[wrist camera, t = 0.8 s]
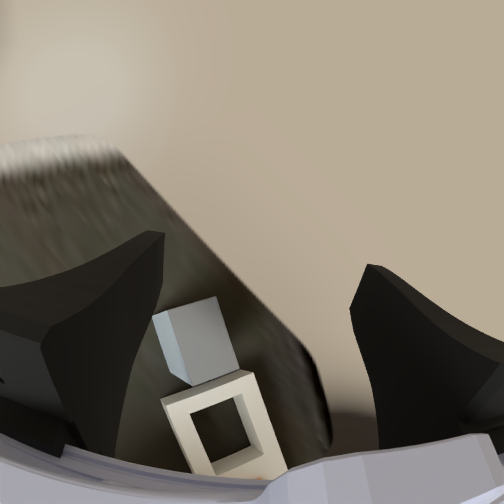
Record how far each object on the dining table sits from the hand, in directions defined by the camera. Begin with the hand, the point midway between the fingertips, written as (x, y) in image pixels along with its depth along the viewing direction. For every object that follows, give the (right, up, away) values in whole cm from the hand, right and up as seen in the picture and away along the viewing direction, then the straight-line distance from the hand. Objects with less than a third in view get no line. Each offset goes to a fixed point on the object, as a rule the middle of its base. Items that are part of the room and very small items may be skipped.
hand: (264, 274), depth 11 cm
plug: (-6, -6, +13) cm, 15 cm away
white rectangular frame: (-2, -16, +12) cm, 20 cm away
